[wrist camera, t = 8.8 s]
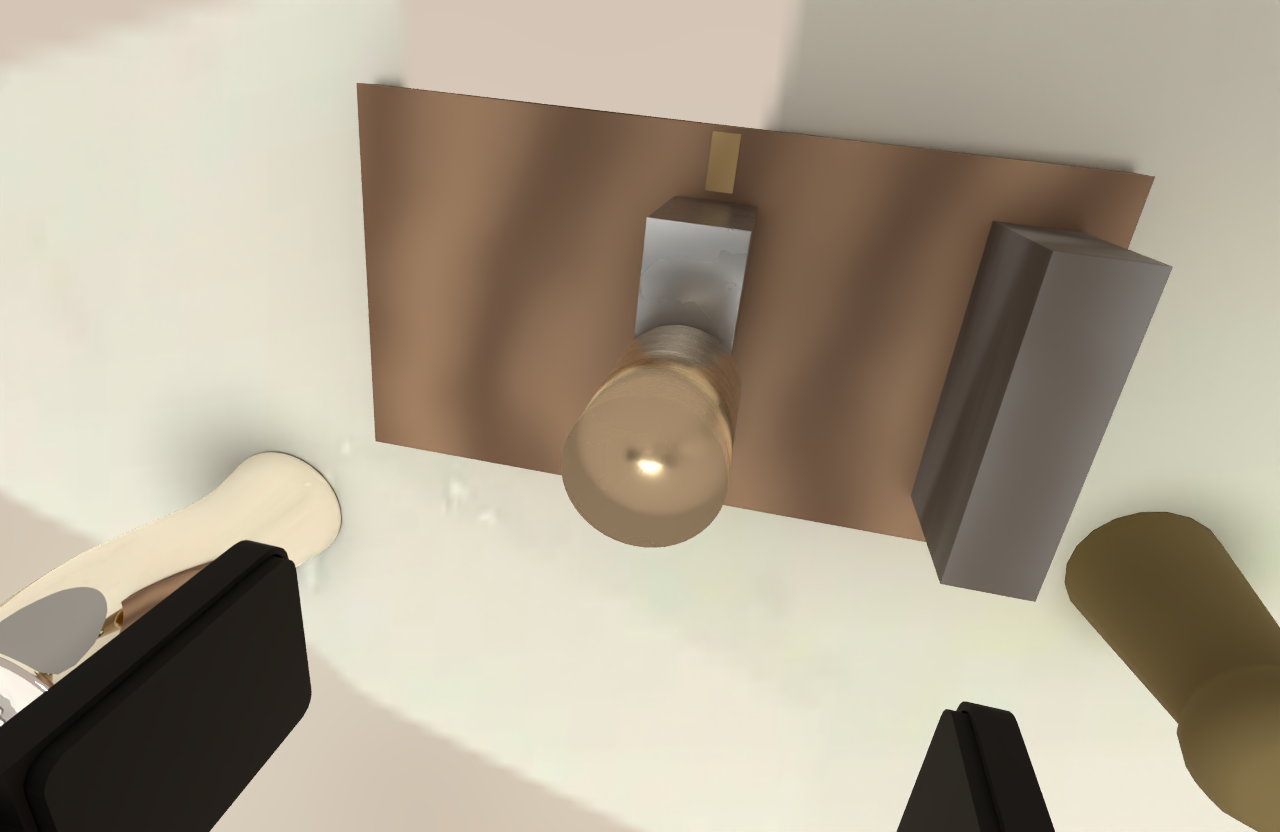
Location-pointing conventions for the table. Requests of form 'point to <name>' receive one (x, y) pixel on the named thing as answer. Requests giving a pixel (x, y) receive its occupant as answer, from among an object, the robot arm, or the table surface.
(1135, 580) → the olive brown pawn
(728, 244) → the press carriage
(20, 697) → the beer glass
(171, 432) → the table surface
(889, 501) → the base
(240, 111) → the table surface
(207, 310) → the table surface
